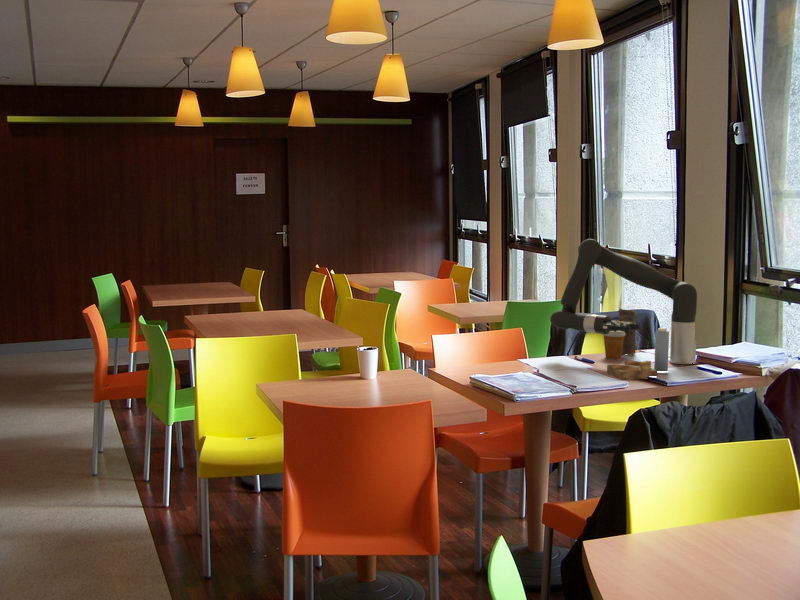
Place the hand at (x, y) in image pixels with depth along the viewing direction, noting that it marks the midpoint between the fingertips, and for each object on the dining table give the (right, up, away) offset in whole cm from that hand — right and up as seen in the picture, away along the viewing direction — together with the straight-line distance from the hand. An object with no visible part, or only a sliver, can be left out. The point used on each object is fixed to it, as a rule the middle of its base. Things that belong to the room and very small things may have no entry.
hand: (634, 328), depth 329 cm
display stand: (-5, -18, -12) cm, 22 cm away
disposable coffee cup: (-2, -14, +27) cm, 31 cm away
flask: (+9, -17, -6) cm, 20 cm away
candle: (+7, -13, +38) cm, 41 cm away
